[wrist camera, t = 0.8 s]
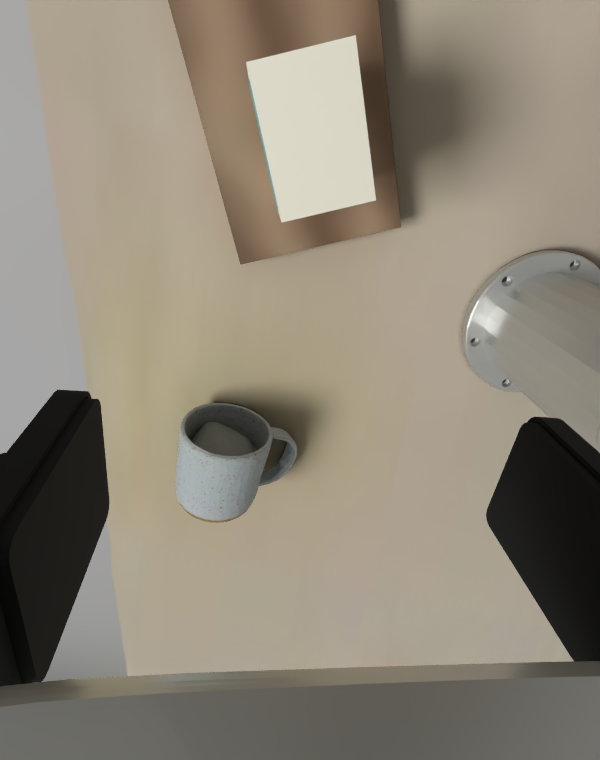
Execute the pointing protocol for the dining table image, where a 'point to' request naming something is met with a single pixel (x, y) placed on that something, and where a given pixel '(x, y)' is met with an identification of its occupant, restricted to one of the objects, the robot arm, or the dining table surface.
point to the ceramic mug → (226, 460)
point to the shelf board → (239, 124)
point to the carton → (313, 128)
